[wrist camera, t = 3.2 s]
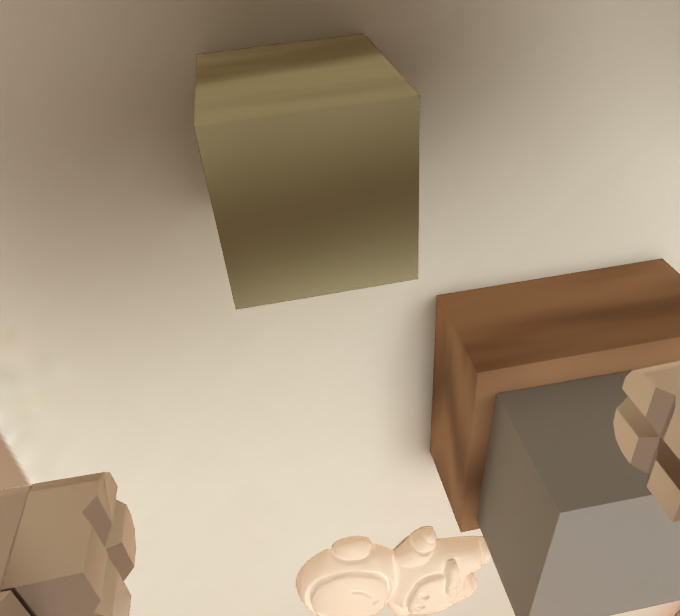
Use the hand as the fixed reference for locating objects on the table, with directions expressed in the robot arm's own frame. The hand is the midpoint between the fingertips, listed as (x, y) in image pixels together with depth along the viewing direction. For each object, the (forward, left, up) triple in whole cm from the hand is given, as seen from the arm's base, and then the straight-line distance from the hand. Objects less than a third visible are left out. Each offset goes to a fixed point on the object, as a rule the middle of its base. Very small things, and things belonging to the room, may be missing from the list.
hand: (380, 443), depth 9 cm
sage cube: (0, 0, -13) cm, 13 cm away
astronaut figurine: (+28, +3, -14) cm, 31 cm away
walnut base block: (+12, +10, -13) cm, 21 cm away
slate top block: (+13, +10, -8) cm, 18 cm away
